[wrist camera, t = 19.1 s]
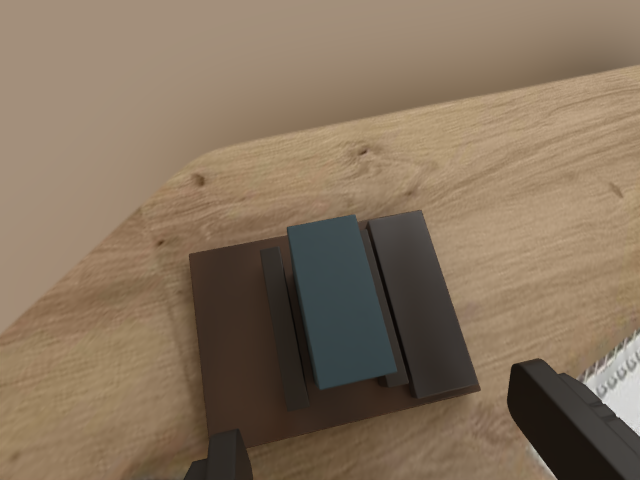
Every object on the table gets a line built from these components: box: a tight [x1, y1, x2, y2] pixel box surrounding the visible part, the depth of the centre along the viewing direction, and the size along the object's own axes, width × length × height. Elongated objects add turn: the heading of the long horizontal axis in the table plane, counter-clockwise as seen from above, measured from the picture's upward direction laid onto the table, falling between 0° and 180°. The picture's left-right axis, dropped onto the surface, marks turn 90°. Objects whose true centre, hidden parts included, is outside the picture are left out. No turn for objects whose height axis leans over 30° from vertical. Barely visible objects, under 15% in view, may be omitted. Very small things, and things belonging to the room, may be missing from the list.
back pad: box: [287, 215, 397, 390], centre depth 20 cm, size 3×7×8 cm, turn 12°
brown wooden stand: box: [189, 210, 481, 448], centre depth 23 cm, size 16×12×4 cm
